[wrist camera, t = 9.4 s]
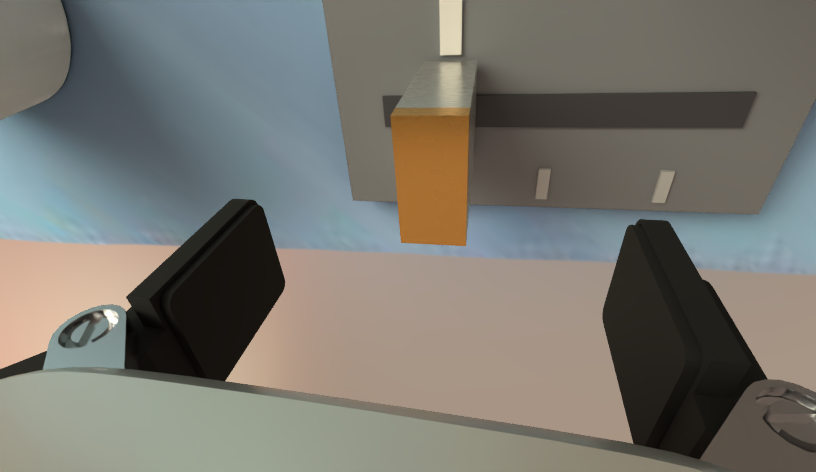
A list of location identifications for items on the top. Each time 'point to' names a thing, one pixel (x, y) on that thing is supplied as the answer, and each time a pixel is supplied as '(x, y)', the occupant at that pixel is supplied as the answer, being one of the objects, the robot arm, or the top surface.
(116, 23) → the top surface
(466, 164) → the fader tab
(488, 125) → the console board
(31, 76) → the utensil holder
